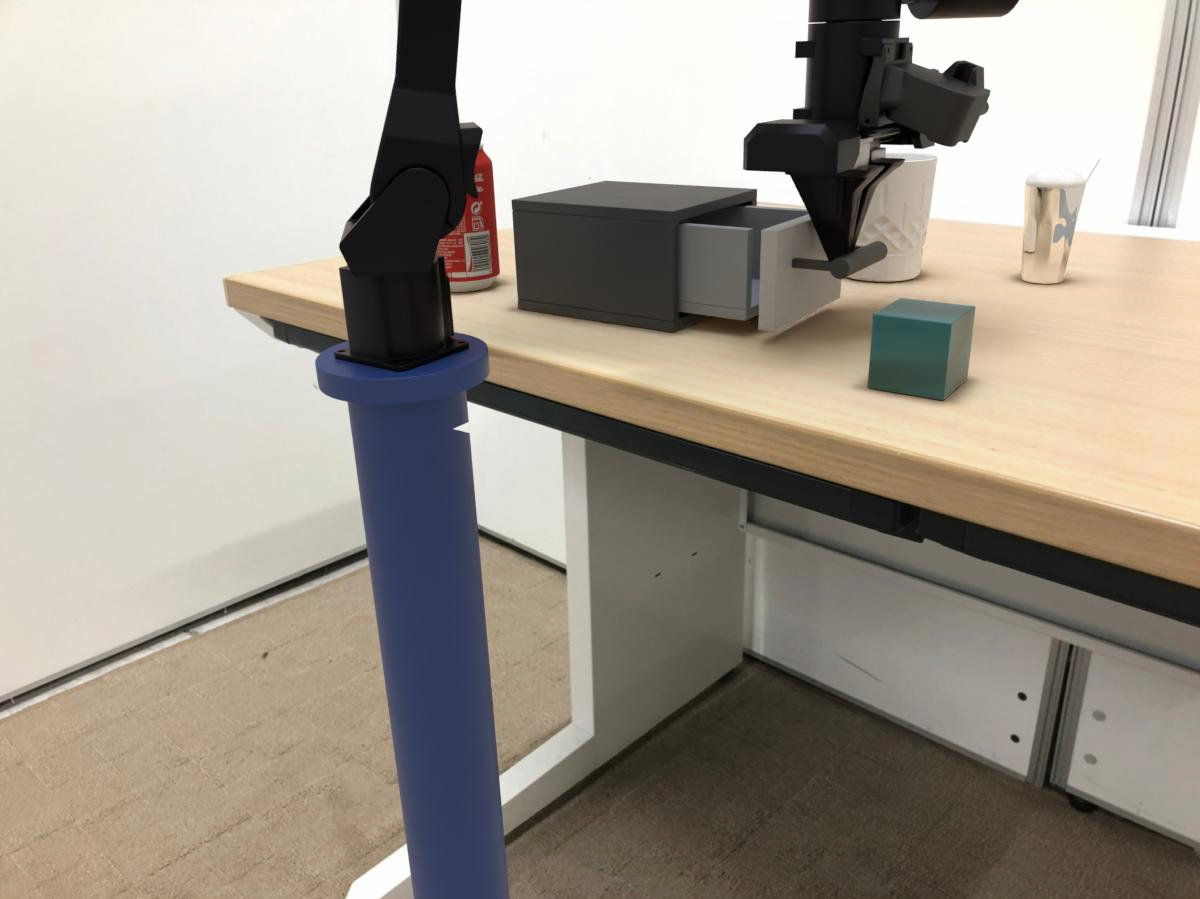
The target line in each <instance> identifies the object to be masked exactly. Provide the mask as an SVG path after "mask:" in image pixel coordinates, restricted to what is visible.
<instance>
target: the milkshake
mask: <svg viewBox="0 0 1200 899" xmlns="http://www.w3.org/2000/svg"><path fill="white" fill-rule="evenodd" d="M1101 159H1102V157H1100V158H1099V159H1098V161H1097V163H1096V164H1095V165H1094V167H1093V168H1092V170H1091V172H1090V174H1089V175H1088V177H1087V179H1086V178H1085V176H1084V175H1083V174H1082V173H1080V172H1078V171H1075V170H1071V169H1068V168H1064V167H1060V168H1050V167H1041V168H1037V169H1036V170H1034V171H1033V172H1031V173H1030V174H1029V175H1028V176H1027V178H1026V179H1025V181H1024V205H1023V206H1024V207H1023V232H1022V234H1023V236H1022V254H1021V271H1020V272H1021V273H1020V278H1021V280H1022V281H1024V282H1027V283H1032V284H1040V285H1041V284H1042V285H1049V284H1059V283H1062V282H1063V281H1064V279H1065V276H1066V275H1065V274H1066V271H1067V265H1068V262H1069V258H1070V252H1071V247H1072V244H1073V240H1074V234H1075V230H1076V226H1077V221H1078V217H1079V215H1080V214H1079V213H1080V209H1081V205H1082V202H1083V198H1084V194H1085V190H1086V185H1087V182H1088V181H1089V179H1090V177H1091V176H1092V174H1093V172H1094V171H1095V169H1096V167H1097V166H1098V164H1099V163H1100V161H1101Z"/></svg>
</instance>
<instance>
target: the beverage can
mask: <svg viewBox="0 0 1200 899" xmlns="http://www.w3.org/2000/svg"><path fill="white" fill-rule="evenodd" d="M493 167H494V166H493V161H492V159H491V158H490V157H489V156H488V154H487V153H486V152H485V150H484V144H483V143H482V142H481V143H480V147H479V151H478V155H477V159H476V163H475V169H474V172H475V184H476V188H477V191H478V194H479V197H478V199H473V198H472V197H471V196H469V195H468V194H467V204H466V208H465V212H464V216H463V218H462V220H461V222H460V224H459V226H458V227H456V228H455V229H454V230H453V231H452V232H451V233H449V234H448V235H447V236H446V237H445V238H443V239H440V240H439V243H438V247H437V251H436V254H437V255H444V260H445V271H446V275H447V276H448V277H449V281H450V292H451V293H467V292H475V291H481V290H486V289H488V288H490V287H491V286H492V285H493V283H494V282H495V280H496V279H497V278H498V276H499V275H500V273H501V268H500V255H499V254H500V253H499V252H500V251H499V238H498V225H497V209H496V196H495V183H494V168H493Z"/></svg>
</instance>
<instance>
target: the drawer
mask: <svg viewBox="0 0 1200 899" xmlns="http://www.w3.org/2000/svg"><path fill="white" fill-rule="evenodd" d="M678 222H679V312H685V313H692V314H699V315H706V316H709V317H713V318H720V319H721V318H723V319H730V320H735V321H744V322H746V321H748V320H750V319H753V318H755V317H756V316H758V323H757V324H758V326H757V327H758V328H757V329H758V331H763V332H771V333H774V332H776V331H778V330H781V329H782V328H784V327H786V326H788V325H790V324H792V323H794V322H796V321H797V320H800V319H802V318H804V317H806V316H808V315H809V314H811V313H813V312H815V311H817V310H819V309H821V308H822V307H823V308H824V306H827V305H829V304H830V303H833V302H835V301H837V300H838V299H840V298H841V292H842V291H841V290H842V280H843V279H846V278H849V277H848V276H850V275H852V274H854V273H856V272H858V271H860V270H862V269H864V268H866V267H868V266H870V265H872V264H875V263H877V262H879V261H881V260H883V259H884V258H885V257H886V255H887V252H888V250H887V246H886V245H885V244H884V243H883V242H881V241H875V242H873V243H870V244H868V245H866V246H857V245H855V248H854V251H852V252H850V253H848V254H845V255H843V256H841V257H838V258H836V259H834V260H833V261H828V259H827V256H826V254H825V252H824V249H823V247H822V244H821V242H820V240H819V237H818V235H817V232H816V230H815V228H814V225H813V223H812V220H811V218H810V216H809V214H808V211H807V209H806V208H794V207H793V208H792V207H779V206H778V207H775V206H764V205H757V206H749V205H734V206H731V207H727V208H724V209H720V210H717V211H713V212H710V213H706V214H702V215H699V216H695V217H692V218H688V219H685V220H681V221H678Z"/></svg>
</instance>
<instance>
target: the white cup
mask: <svg viewBox="0 0 1200 899" xmlns="http://www.w3.org/2000/svg"><path fill="white" fill-rule="evenodd" d="M885 158H902V159H905V161H904V163H903V164H902V165H901V166H900V167H898V168H896V169H895V170H894V171H893V172H892V173H890V174H889V175H888V176H887V177H886V178H885V179H883V180H882V181H881V182H880V183H879V184H878V185H877V187H876V189H875V192H874V194H873V197H872V199H871V202H870V205H869V207H868V210H867V213H866V216H865V219H864V222H863V225H862V228H861V230H860V233H859V236H858V239H857V242H856V245H857V246H866V245H868V244H870V243H873V242H875V241H881V242H883V243H884V244H885V245H886V246H887V250H888V252H887V255H886V257H885V258H884V259H883V260H881V261H879V262H877V263H875V264H872V265H870V266H868V267H866V268H864V269H862V270H860V271H858V272H856V273H854V274H852V275H850V276H848V277H847V278H849V279H853V280H858V281H866V282H878V283H880V282H882V283H883V282H884V283H885V282H887V283H889V282H903V281H909V280H912V279H913V280H914V279H915V278H917V277H918V276H919V275H920V274H921V270H922V269H921V268H922V262H923V261H922V260H923V253H924V248H923V247H924V245H925V243H926V239H927V234H928V224H929V221H930V215H931V208H932V201H933V193H934V185H935V178H936V172H937V164H938V159H939V158H938V156H937V155H936V154H931V153H924V152H906V151H886V155H885Z"/></svg>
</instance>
